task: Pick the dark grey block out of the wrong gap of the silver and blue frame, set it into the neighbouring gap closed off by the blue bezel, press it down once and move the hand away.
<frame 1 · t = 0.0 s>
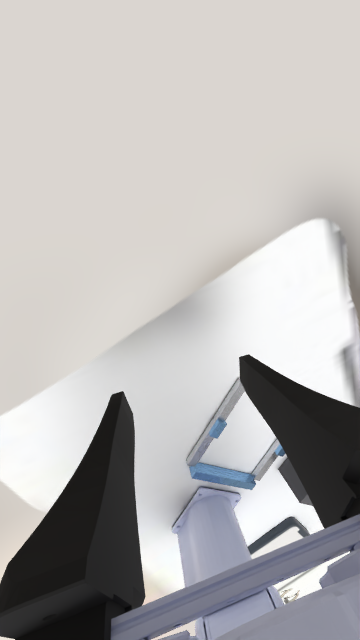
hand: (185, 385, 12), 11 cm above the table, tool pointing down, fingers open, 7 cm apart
dark grey block: (303, 448, 34), on the table
silver and blue frame: (278, 441, 31), on the table
phone case: (265, 543, 41), on the table
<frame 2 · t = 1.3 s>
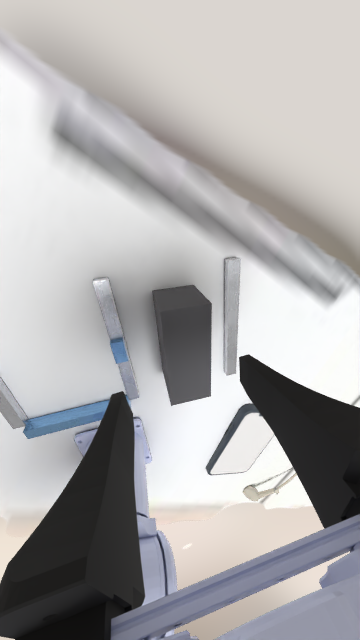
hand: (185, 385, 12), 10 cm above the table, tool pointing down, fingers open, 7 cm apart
dark grey block: (176, 331, 22), on the table
silver and blue frame: (119, 344, 21), on the table
phone case: (241, 436, 35), on the table
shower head: (284, 468, 44), on the table
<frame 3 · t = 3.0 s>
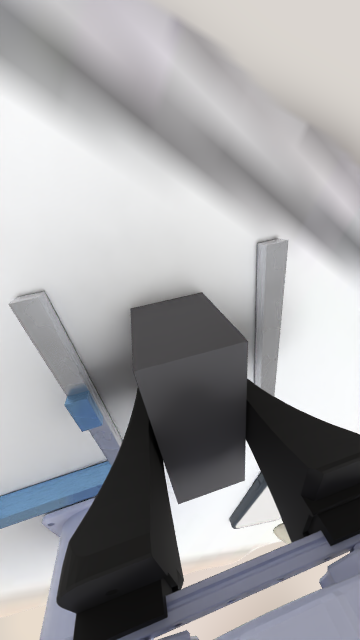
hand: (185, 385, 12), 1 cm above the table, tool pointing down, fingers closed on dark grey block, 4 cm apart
dark grey block: (180, 369, 14), on the table, touching gripper
silver and blue frame: (88, 396, 13), on the table
phone case: (274, 479, 27), on the table
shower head: (324, 500, 35), on the table
when the fingers open (3 cm above the table, at t = 6.6 s): dark grey block drops 1 cm, on the table.
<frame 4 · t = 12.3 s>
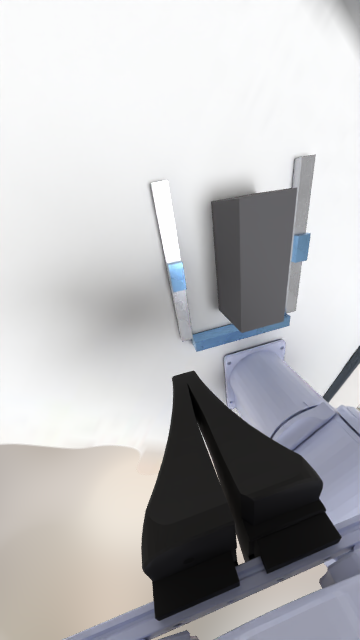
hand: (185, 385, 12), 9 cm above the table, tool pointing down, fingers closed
dark grey block: (234, 257, 20), on the table
silver and blue frame: (292, 246, 20), on the table
phone case: (353, 373, 34), on the table
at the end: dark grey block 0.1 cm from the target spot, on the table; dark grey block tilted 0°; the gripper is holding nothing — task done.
